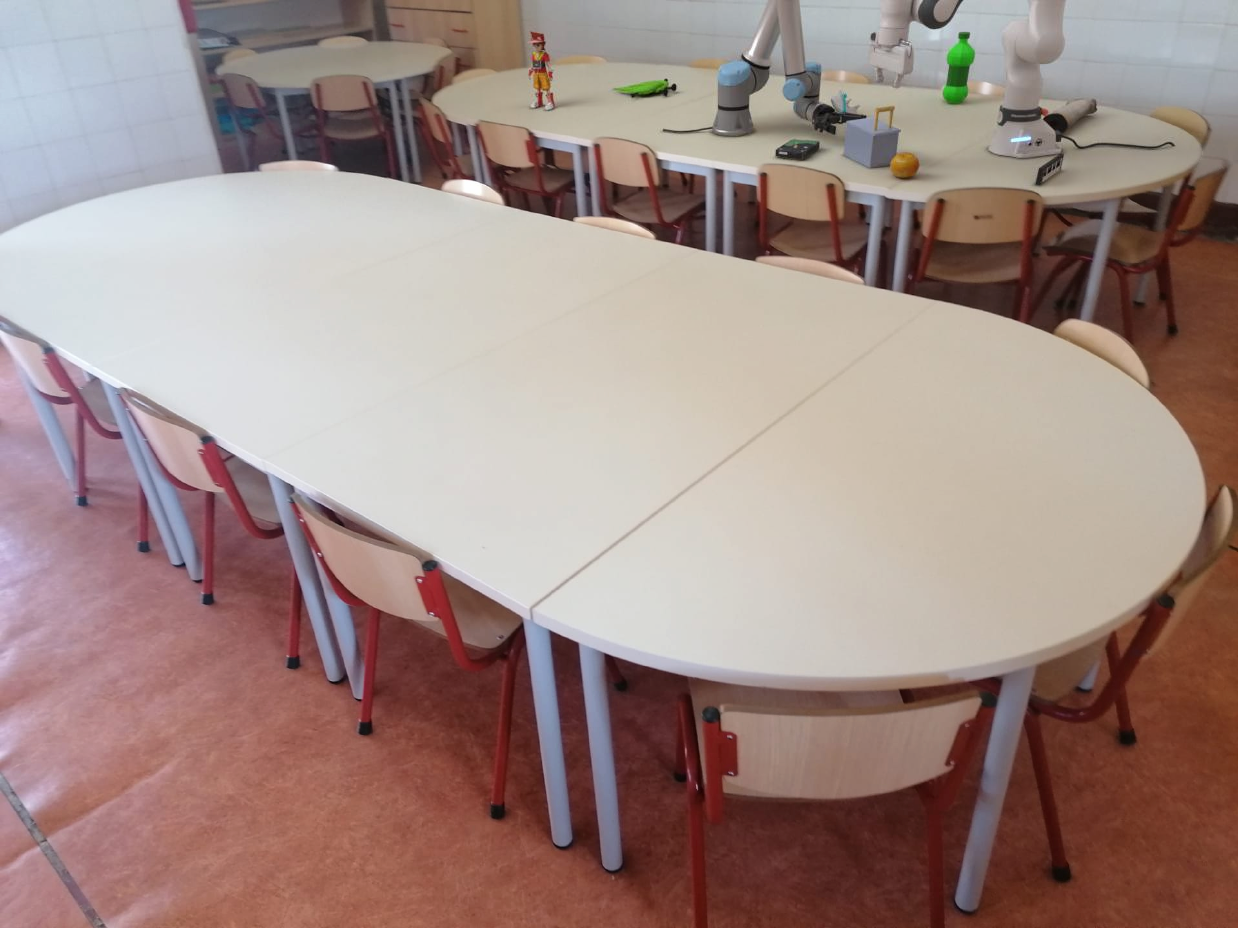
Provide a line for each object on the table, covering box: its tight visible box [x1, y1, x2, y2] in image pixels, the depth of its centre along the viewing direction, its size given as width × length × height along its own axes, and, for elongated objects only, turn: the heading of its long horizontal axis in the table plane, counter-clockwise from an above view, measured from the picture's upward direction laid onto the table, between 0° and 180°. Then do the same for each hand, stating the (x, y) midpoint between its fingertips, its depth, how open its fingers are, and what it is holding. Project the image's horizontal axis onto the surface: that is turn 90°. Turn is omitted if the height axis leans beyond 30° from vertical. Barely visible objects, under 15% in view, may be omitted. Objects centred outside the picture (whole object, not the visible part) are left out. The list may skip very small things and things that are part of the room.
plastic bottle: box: [942, 31, 976, 104], centre depth 348 cm, size 10×10×25 cm
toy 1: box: [527, 31, 556, 111], centre depth 374 cm, size 12×9×30 cm
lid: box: [846, 105, 902, 136], centre depth 291 cm, size 18×9×8 cm, turn 18°
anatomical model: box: [830, 89, 861, 114], centre depth 343 cm, size 15×10×10 cm
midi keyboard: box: [1035, 153, 1065, 186], centre depth 273 cm, size 18×1×5 cm, turn 138°
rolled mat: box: [1042, 97, 1098, 135], centre depth 320 cm, size 30×9×10 cm
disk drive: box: [774, 138, 821, 161], centre depth 308 cm, size 10×3×15 cm
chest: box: [843, 123, 900, 169], centre depth 297 cm, size 17×9×10 cm, turn 18°
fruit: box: [889, 152, 920, 179], centre depth 281 cm, size 8×8×8 cm
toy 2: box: [612, 78, 677, 99], centre depth 396 cm, size 28×5×30 cm
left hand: (852, 128), depth 307 cm, fingers open, 13 cm apart
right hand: (887, 85), depth 281 cm, fingers open, 8 cm apart
